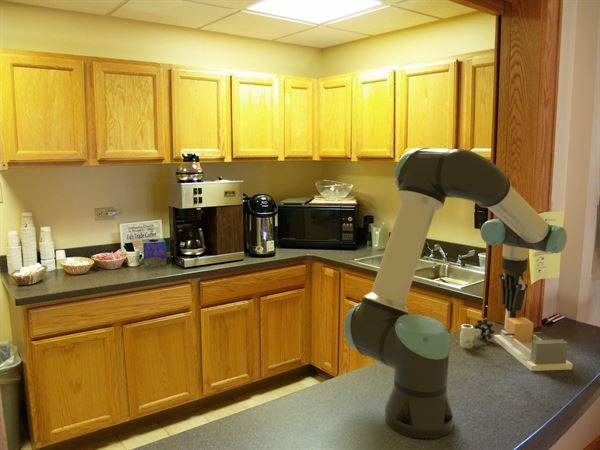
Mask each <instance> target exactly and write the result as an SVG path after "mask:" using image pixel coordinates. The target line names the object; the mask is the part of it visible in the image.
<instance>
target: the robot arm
mask: <svg viewBox="0 0 600 450" xmlns="http://www.w3.org/2000/svg"><path fill="white" fill-rule="evenodd" d="M394 178H395V180H394V182H395V185H396V187H397V189H398V191H397V196H398V197H399V199H400V205H399V207H398V211H397V214H396V216H395V219H394V222H393V224H392V225H393V226H392V229H391V231H390V234H389V238H388V241H387V244H386V247H385V250H384V253H383V256H382V258H381V263H380V265H379V268H378V269H377V270H378V271H377V274H376V276H375V279H374V283H373V286H372V290H371V291H370V292H368V293H367V294H365V295H363V297H362V298H361V299H362V300H361V302H359V303H356V304H354V305H353V306H352V308H350V309H349V310H348V312H347V313H346V316H345V318H344V324H343V334H344V338H345V339H346V343H347V344H348V346H349V347H351V348H352V349H353V350H355V351H357V352H358V353H359V354H360V355H362V356H365V357H369V359H373V360H375V361H376V362H379V363H381V364H383V365H384V366H388V367H389V368H391V369H392V370H394V371H393V373H394V374H393V386H392V389H391V390H390V394H389V396H388V399H387V401H386V404H385V406H384V420H385V422H386V423H388V424H387V425H388V426H389V427H390V428H391V429H392V428H393V429H392V430H394V431H395V432H397V433H399V434H401V435H404V436H406V437H409V436H411V437H410V438H413V437H415V438H414V439H418V438H423V439H422V440H433V439H432V438H435V439H439V437H440V438H442V436H443V437H444V436H447V435H448V434H450V432H451V431H452V430H453V429H454V428H453V427H454V411H453V409H452V406H451V403H450V399H449V396H448V390H447V388H448V377H449V376H448V375H449V358H450V352H451V345H450V334H449V331H448V329H447V327H446V326H445V325H444V324H443V323H442V322H440V321H438V320H437V319H435V318H432V317H430V316H427V315H419V314H415V313H409V309H408V307H407V305H406V301H407V298H408V295H409V292H410V289H411V286H412V284H413V280H414V277H415V273H416V271H417V268H418V264H419V262H420V259H421V256H422V252H423V249H424V246H425V243H426V240H427V236H428V233H429V230H430V227H431V225H432V222H433V218H434V216H435V213H436V211H439V210H440V209H443V208H444V204H445V201H446V198H452V199H453V198H454V199H462V200H467V201H470V202H474V203H475V204H476V205H477V206H479V207H481V208H487V209H488V210H489V211H490V212H491V213H493V214H494V215H495V216H496V217H497V218H493V219H489V220H487V221H485V222H484V223H483V224H482V226H481V228H480V236H481V239H482V240H483V242H484V243H485V244H488V245H489V246H499V245H502V254H501V255H502V258H501V269H502V270H503V271H504V272H503V273H500V274H499V278H500V287H501V288H500V289H501V291H500V292H501V304H502V305H504V308H505V313H504V314H505V316H504V330H506V321H507V318H517V312H518V311H519V312H520V311H521V310H522V307H523V302H524V299H525V294H526V291H527V289H528V284H527V283H525V282H524V273H525V272H526V271H528V267H529V266H528V265H529V263H528V262H529V260H528V258H529V250H533V251H539V252H544V253H547V254H548V253H550V254H551V253H552V254H560V253H562V251H563V250H564V249H565V247H566V244H567V241H568V240H567V239H568V235H567V230H566V229H565V228H564V227H562V226H558V225H555V224H554V225H552V224H551V225H550V224H549V223H548V222H547V221H546V220H545V219H544V218H543V217H542V216H541V215H540V214H539V213H538V212H537V211H536V210H535V208H533V207H532V206H531V205H530V204H529V203H528V202H527V201H526V200H525V198H523V197H522V195H521V194H519V193H518V191H516V190H515V188H514V187H513V186H512V184H511V180H510V177H509V176H508V175H507V174H506V173H505V172H504V171H503V170H502V169H501V168H500V167H499V166H497V165H496V164H495V163H494V162H492V161H491V160H489V159H487V158H485V157H484V156H483V155H480V153H476V152H475V151H471V150H468V149H464V148H430V147H420V148H414V149H412V148H411V149H410V150H408V151H406V152H405V153H404V154H403V155H401V157H400V158H399V160H398V162H397V164H396V166H395V169H394ZM424 438H425V439H424ZM428 438H429V439H428Z"/></svg>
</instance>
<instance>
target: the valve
mask: <svg viewBox="0 0 600 450" xmlns="http://www.w3.org/2000/svg"><path fill="white" fill-rule="evenodd" d="M477 323H478V324H476V325H474V326H473V325H471V324H469V323H467V324H466V323H463V324H461V325H460V333H459V346H460V347H461V348H463V349H472V348H473V347H474V346H473V344H474V339H477V338H478V336H481V339H482V340H483V339H484V340H486V339H487V340H491V339H493V336H492V335H495V332H496V331H495V330H494V329H492V328H493V326H494V325H493V323H488V319H483V320H481V319H478V320H477ZM482 325H485V326H482ZM487 332H488V333H487ZM485 333H487V334H485Z"/></svg>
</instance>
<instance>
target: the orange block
mask: <svg viewBox="0 0 600 450" xmlns="http://www.w3.org/2000/svg"><path fill="white" fill-rule="evenodd" d="M534 324H535V323H534V322H532V321H531V320H530V319H528V318H526V317H516V318H507V321H506V329H505V331H506V332H507V333H504V335H505V336H510V335H511V336H513V337H514V338H515V339H517V340H518V341H519V342H532V336H533V335H536V336H537V335H543V334H544V333H543V332H542V331H536V332H535V331H534Z"/></svg>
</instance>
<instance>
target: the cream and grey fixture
mask: <svg viewBox="0 0 600 450" xmlns="http://www.w3.org/2000/svg"><path fill="white" fill-rule="evenodd" d="M504 333H507V332H506V329H500V334H493V340H494V341H495V342H496V343H498V344H499V345H500V346H501V347H502V348H503V349H505V350H506V351H507V353H509V354H511V355H512V356H513V357H514V358H515V359H516V360H517V361H519V362H520V363H521V364H522V365H524V366H525V368H527V369H528V370H530V371H531V372H537V371H539V372H541V371H561V370H562V371H565V370H573V365H574V364H573V363H572V362H570V360H568V359H567V355H568V347H569V346H568V345H569V342H567V341H566V340H564V339H561V338H560V339H542V338H541V337H539V336H537V335H533V336H532V342H519V341H518V340H517V339H515V338H514V337H513V336H511V335H510V336H505V335H504Z"/></svg>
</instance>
